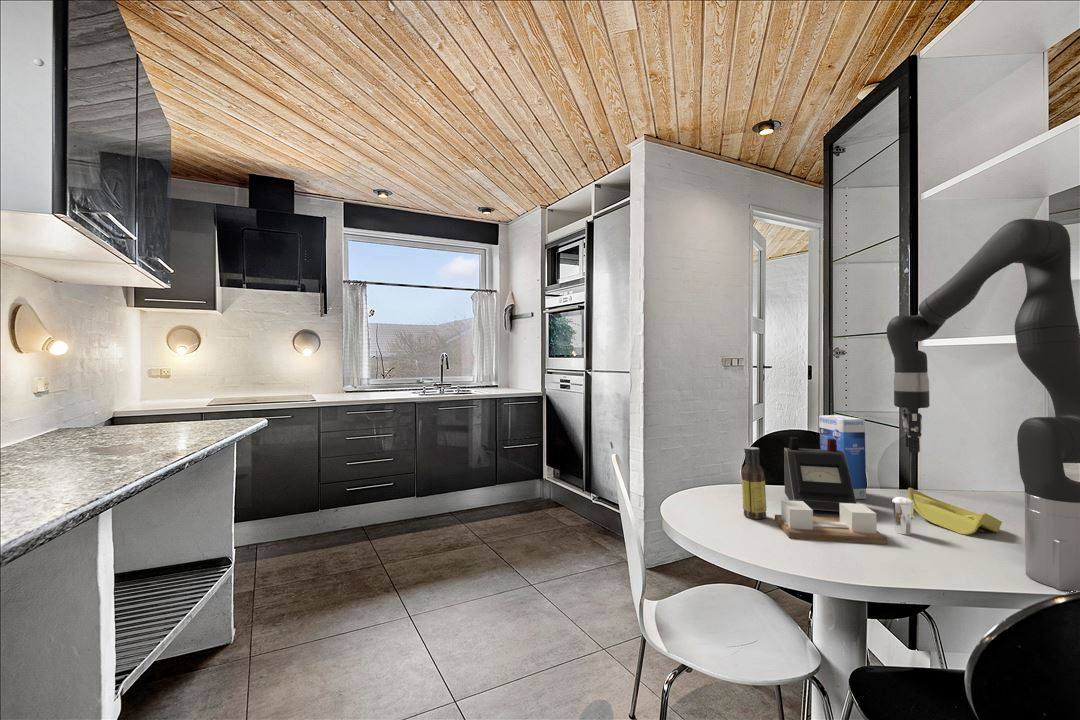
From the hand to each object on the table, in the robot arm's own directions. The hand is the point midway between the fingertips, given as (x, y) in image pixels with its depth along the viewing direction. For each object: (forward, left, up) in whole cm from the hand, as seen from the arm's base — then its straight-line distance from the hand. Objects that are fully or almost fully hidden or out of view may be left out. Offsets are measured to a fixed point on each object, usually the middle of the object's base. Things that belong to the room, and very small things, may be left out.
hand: (912, 449), depth 127 cm
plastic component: (+6, -11, -21) cm, 25 cm away
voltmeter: (+14, +19, -21) cm, 32 cm away
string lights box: (+31, +6, -21) cm, 38 cm away
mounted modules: (-8, +24, -19) cm, 31 cm away
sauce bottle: (+1, +40, -21) cm, 45 cm away
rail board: (-8, +24, -21) cm, 32 cm away
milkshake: (-6, +5, -21) cm, 22 cm away
